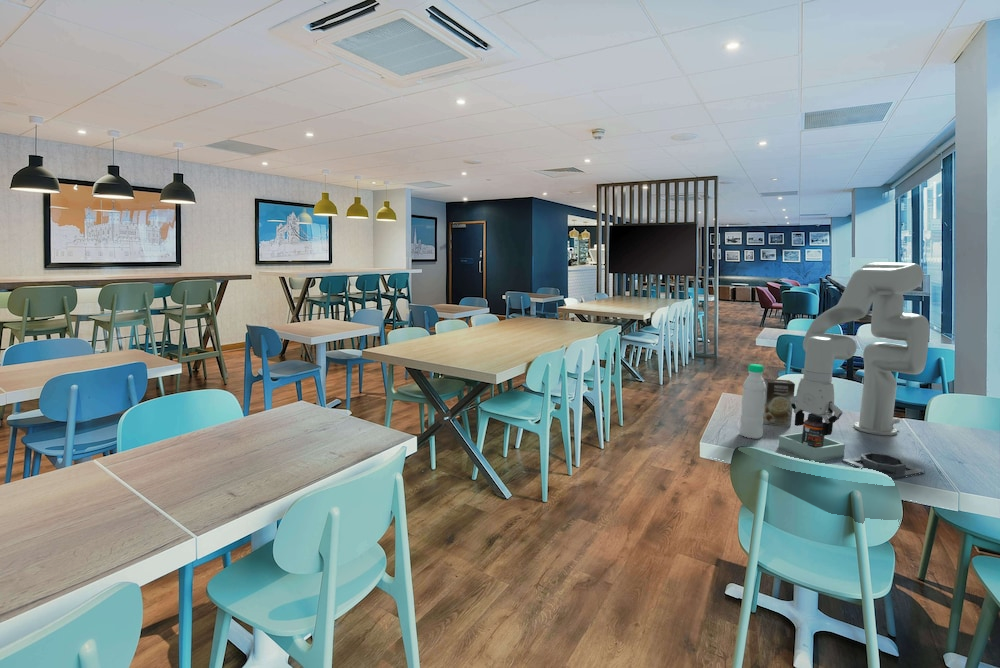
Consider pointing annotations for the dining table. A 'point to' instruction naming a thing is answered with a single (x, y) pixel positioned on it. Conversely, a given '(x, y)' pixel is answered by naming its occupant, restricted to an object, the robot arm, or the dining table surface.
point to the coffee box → (778, 402)
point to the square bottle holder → (892, 470)
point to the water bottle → (753, 403)
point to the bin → (811, 448)
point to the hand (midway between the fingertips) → (812, 429)
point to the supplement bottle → (813, 431)
